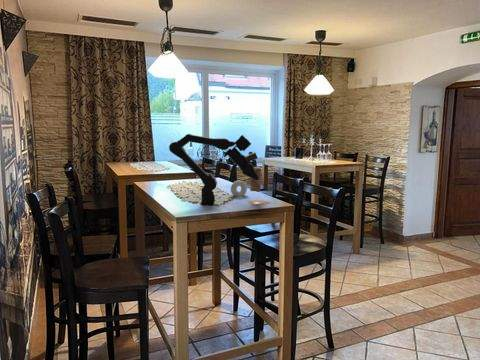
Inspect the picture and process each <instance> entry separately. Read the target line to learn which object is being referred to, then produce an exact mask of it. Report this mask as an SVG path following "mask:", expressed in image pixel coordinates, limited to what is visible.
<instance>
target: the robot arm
mask: <svg viewBox="0 0 480 360" xmlns="http://www.w3.org/2000/svg"><path fill="white" fill-rule="evenodd" d="M189 143H195V144H201V145H205V146H206V145H207V146H212V147H213V148H214V147H215V148H217V149H219V150H221V151H223V157H224V158H226V157H227V156H228V158H230V159H231V161H232V162H234V164H235V165H236V166H237V167H239V169H240V170H241V173H242V174H243V175H244V176H247V177H249V178H250V177H251V178H253V179H256V180H259V178H258V176H257V175H256V173H255V172H254V167H255V166H254V164H253V163H252V161H254V160H257V159H258V155H257V152H255V151H254V152H253V151H248V154H247V155H244V154H243V153H241V152H245V151H246V150H247V149H248V148H249V147H251V145H252V143H251V141H249V140H248V138H246V137H245V136H244V135H243V134H241V135H240V136H239V138H238V139H236V141H233V140H232V141H231V140H229V139H227V138H224V137H223V138H219V137H218V138H213V137H207V136H200V135H197V134H196V135H195V134H191V133H186V134H185V135H184V136H183V137H181V138H180V139H178V140H177V141H174V142H171V143H170V144H169V146H168V150H169V152H170V153H172V154H173V155H174V156H176V157H178V158H180V160H182V161H183V163H185V165H186V166H188V167H189V168H190V169H191V171H192V172H194V174H196V176H198V178H200V180H201V182H202V184H203V185H202V188H201V190H200V191H201V202H200V204H201V206H202V205H208V206H209V205H214V204H215V203H216V202H215V201H216V200H215V199H216V198H215V197H216V196H215V194H214V191H213V190H215V189H216V188H217V186H218V185H217V184H218V182H217V181H218V180H217V177H215V176H214V175H213V173H212V172H210V173H208V172H206V171H205V170H204V169H203V168H202V167H201V166H200V165H199V164H198V163H197V162H196V161H195V160H194V159H193V158H192V157H191V156H190V155H189V154H188V153H187V151H186V150H185V148H184V147H185V146H186V145H187V144H189Z"/></svg>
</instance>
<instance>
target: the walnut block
mask: <svg viewBox="0 0 480 360" xmlns="http://www.w3.org/2000/svg"><path fill="white" fill-rule="evenodd" d="M261 171H262V168H261V167H260V166H254V172H255V173H256V175H257V176H258V178H259V180H256V179H253V178H251V177H249V178H250V182H249V183H250V184H249V185H250V187H249V190H250V192H261V182H262V180H261V179H262V175H261V174H262V173H261Z"/></svg>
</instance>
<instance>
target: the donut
mask: <svg viewBox="0 0 480 360" xmlns="http://www.w3.org/2000/svg"><path fill="white" fill-rule="evenodd" d="M238 187H240V190H239V191H238V190H237V188H238ZM247 190H248V186H247V184H246V183H245V181H243V180H235V181H233V182H232V184H231V186H230V192H231V194H232V196H233V197H243V196H245V195H246V193H247Z"/></svg>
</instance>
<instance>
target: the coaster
mask: <svg viewBox="0 0 480 360" xmlns="http://www.w3.org/2000/svg"><path fill="white" fill-rule="evenodd" d="M247 204H249V205H255V206H256V205H257V206H260V205H261V206H262V205H264V206H265V205H269V204H271V202H270V201H269V200H265V199H262V200H261V199H253V200H252V199H251V200H248V201H247Z"/></svg>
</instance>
